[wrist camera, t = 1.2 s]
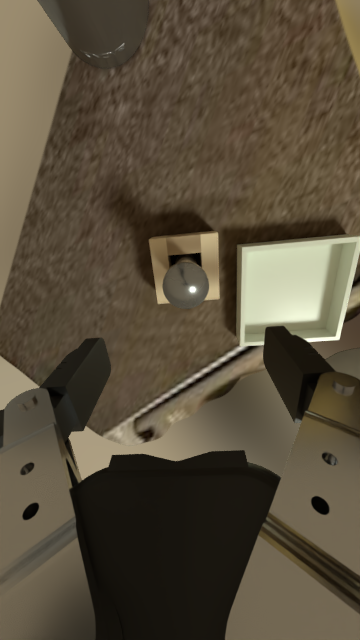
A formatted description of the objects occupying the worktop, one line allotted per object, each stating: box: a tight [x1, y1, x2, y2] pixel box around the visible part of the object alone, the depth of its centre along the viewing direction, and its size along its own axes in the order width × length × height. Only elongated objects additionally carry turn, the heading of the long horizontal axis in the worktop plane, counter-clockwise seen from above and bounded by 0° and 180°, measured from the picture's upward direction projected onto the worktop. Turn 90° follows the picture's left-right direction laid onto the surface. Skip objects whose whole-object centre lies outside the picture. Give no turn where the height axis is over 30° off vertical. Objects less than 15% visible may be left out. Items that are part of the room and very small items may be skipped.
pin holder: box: [149, 231, 219, 304], centre depth 29 cm, size 8×8×4 cm
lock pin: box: [162, 254, 209, 309], centre depth 26 cm, size 4×4×11 cm
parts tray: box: [236, 234, 360, 346], centre depth 31 cm, size 14×14×3 cm
